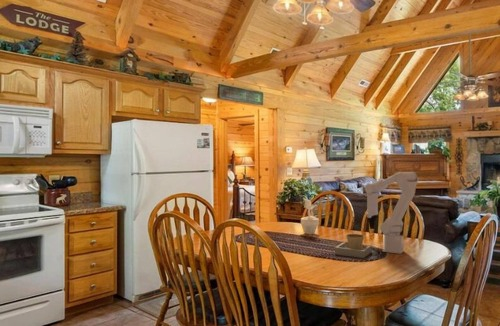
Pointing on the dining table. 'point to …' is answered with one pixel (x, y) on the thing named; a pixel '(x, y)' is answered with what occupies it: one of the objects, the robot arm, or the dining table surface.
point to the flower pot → (355, 241)
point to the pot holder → (352, 251)
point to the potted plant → (309, 219)
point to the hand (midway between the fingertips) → (372, 228)
